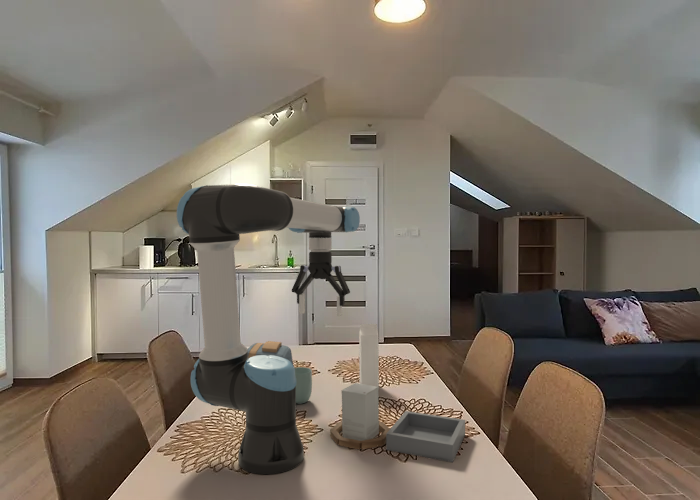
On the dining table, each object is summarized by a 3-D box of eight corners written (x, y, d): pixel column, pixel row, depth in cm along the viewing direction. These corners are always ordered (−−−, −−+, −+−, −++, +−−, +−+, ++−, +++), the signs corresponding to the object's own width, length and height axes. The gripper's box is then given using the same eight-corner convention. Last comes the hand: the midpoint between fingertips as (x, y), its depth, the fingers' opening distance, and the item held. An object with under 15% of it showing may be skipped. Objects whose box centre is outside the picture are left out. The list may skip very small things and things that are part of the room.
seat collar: (377, 452, 112) (377, 446, 112) (322, 442, 118) (322, 436, 118) (396, 429, 126) (396, 423, 126) (346, 420, 132) (346, 415, 132)
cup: (308, 406, 143) (307, 374, 143) (284, 405, 145) (283, 373, 144) (314, 398, 151) (314, 367, 150) (292, 396, 152) (291, 366, 152)
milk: (378, 389, 159) (378, 325, 158) (361, 390, 158) (361, 326, 158) (376, 383, 165) (376, 322, 164) (359, 384, 165) (359, 322, 164)
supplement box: (379, 433, 123) (379, 386, 123) (365, 444, 117) (365, 394, 117) (356, 427, 127) (355, 382, 127) (341, 437, 121) (340, 389, 120)
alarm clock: (251, 380, 170) (250, 337, 170) (295, 380, 170) (295, 337, 169) (239, 395, 154) (238, 348, 153) (288, 395, 153) (287, 348, 153)
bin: (452, 462, 107) (452, 445, 107) (386, 449, 114) (386, 433, 114) (465, 434, 122) (465, 419, 122) (405, 425, 129) (405, 410, 128)
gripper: (359, 251, 154) (359, 314, 154) (291, 250, 162) (292, 311, 163) (351, 251, 147) (351, 318, 147) (281, 251, 155) (281, 314, 156)
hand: (320, 314), depth 155 cm, fingers open, 13 cm apart
